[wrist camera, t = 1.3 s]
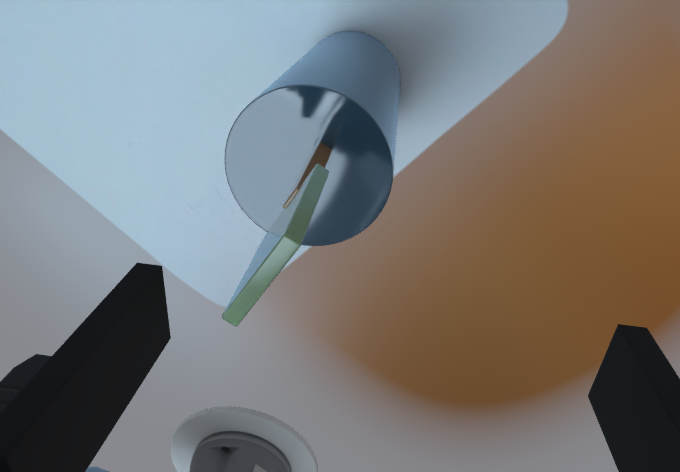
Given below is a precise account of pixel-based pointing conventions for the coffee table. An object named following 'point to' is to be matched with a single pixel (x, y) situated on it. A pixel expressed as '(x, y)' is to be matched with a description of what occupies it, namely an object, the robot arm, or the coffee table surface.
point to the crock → (314, 154)
